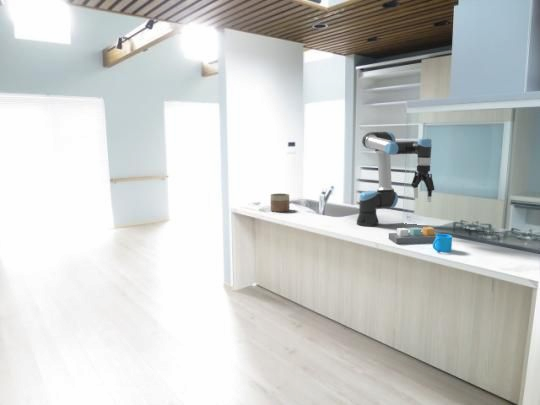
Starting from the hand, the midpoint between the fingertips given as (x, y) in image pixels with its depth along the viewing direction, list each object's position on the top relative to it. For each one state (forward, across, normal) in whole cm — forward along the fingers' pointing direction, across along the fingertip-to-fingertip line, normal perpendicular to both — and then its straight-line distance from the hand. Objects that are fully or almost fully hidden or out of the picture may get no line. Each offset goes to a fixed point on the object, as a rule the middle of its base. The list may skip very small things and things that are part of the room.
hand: (421, 200), depth 239 cm
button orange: (+20, +7, +1) cm, 21 cm away
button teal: (+20, +6, -7) cm, 22 cm away
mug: (+23, +28, -6) cm, 37 cm away
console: (+23, +6, -7) cm, 25 cm away
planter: (+24, -110, -61) cm, 129 cm away
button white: (+20, +5, -15) cm, 25 cm away
